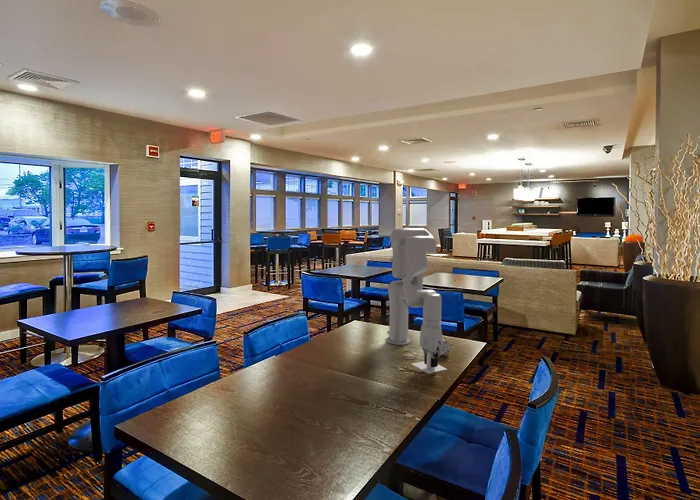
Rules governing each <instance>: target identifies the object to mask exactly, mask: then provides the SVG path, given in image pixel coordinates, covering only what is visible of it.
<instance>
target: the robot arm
mask: <svg viewBox="0 0 700 500" xmlns="http://www.w3.org/2000/svg"><path fill="white" fill-rule="evenodd" d="M389 238H390V240H389V241H390V245H391V248H392V262H391V264H392V265H391V274H392V277H394V278H395V279H399V280H394V281H391V282H390V283H388V287H387V292H388V299H389V328H388V329H389V330H387V331H386V334H388V337H387V338H386V340H385V342H387V343H388V344H390V345H396V346H405V345H409V344H411V341H412V339H411V338H410V337H409V308H422V324H421V326H420V331H419V332H420V333H419V346H420V347H421V348H422V351H423V355H424V360H423V361H424V364H427V350H429V351H431V352H432V358H431V367H432V368H433V367H437V366H438V365H439V363H438V362H439V359H438V358H440V355H441V356H443V355H442V354H443V352H442V339H443V331H442V329H443V328H442V302H443V301H442V298H443V297H442V295H441V294H440V293H437V292H436V290H434V289H423V286H424V285H423V283H424V273H425V272H426V271H427V270H428V269H429V262H428V258H427V255H432V254H433V255H434V253H436V251H437V246H438V245H437V240H436V239H435V237H434V236H433V234H431V233H430V231H428V230H427V229H425V228H421V227H420V228H419V227H417V228H416V227H414V228H413V227H412V228H411V227H399V228H395V229H392V231H391V233H390V237H389ZM401 279H402V280H401ZM434 352H435V354H434Z"/></svg>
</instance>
